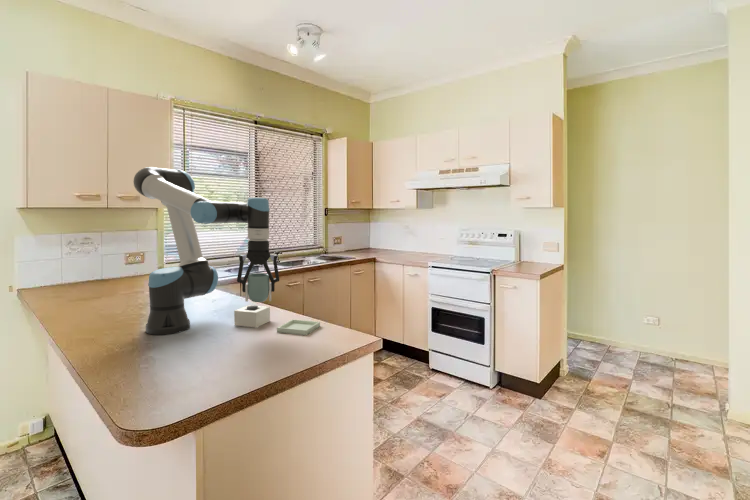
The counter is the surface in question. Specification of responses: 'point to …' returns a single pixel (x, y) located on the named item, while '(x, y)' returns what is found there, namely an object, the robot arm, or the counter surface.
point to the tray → (298, 327)
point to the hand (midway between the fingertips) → (258, 300)
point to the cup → (258, 287)
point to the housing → (252, 316)
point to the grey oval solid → (252, 308)
